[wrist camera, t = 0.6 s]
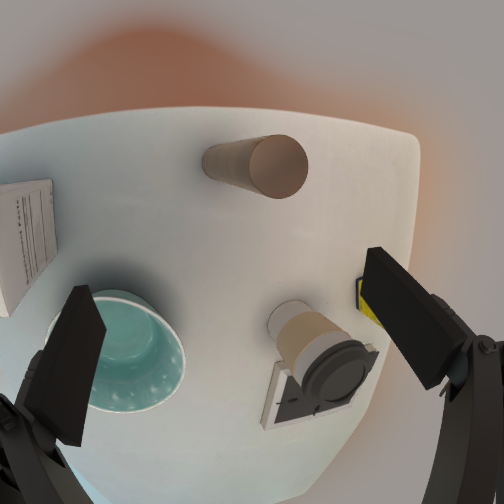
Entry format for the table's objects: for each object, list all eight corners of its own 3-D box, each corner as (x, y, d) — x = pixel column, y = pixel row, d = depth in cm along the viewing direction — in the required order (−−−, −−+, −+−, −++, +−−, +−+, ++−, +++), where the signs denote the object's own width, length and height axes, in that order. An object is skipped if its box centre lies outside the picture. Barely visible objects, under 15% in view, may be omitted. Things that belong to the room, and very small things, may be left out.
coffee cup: (255, 305, 39) (310, 376, 25) (313, 284, 41) (382, 338, 28) (265, 353, 42) (313, 424, 29) (317, 332, 44) (374, 390, 31)
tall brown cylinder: (195, 158, 30) (236, 156, 16) (224, 138, 31) (289, 123, 16) (214, 186, 32) (270, 211, 18) (243, 166, 32) (318, 176, 18)
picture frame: (370, 344, 51) (275, 362, 43) (379, 351, 48) (282, 372, 41) (346, 400, 55) (260, 423, 48) (353, 408, 53) (265, 433, 45)
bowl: (104, 239, 29) (91, 264, 22) (201, 317, 36) (216, 355, 29) (42, 327, 29) (24, 365, 22) (132, 386, 36) (135, 428, 29)
